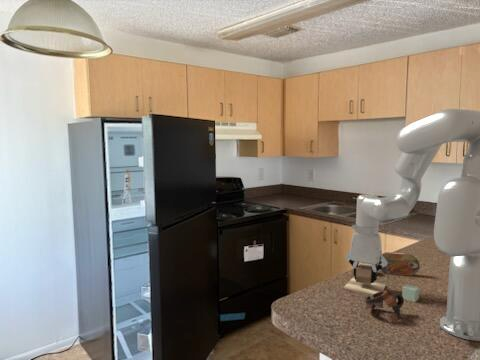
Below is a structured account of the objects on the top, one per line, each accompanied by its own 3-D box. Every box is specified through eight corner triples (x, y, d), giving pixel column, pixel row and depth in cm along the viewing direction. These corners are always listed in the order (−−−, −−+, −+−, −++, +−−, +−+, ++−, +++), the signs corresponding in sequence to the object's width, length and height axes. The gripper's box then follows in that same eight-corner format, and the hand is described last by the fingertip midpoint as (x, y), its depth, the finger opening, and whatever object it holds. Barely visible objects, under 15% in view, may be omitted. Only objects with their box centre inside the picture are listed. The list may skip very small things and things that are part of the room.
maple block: (373, 275, 143) (373, 265, 142) (362, 274, 144) (362, 264, 144) (372, 272, 147) (373, 262, 146) (362, 271, 148) (362, 261, 147)
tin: (377, 273, 146) (378, 252, 145) (377, 270, 149) (377, 250, 148) (419, 277, 141) (420, 255, 140) (417, 274, 144) (418, 253, 143)
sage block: (414, 302, 119) (415, 290, 118) (401, 298, 121) (402, 287, 121) (418, 298, 121) (419, 287, 121) (406, 295, 124) (406, 283, 124)
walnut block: (370, 284, 127) (370, 270, 126) (355, 281, 130) (356, 268, 129) (373, 280, 131) (374, 266, 130) (359, 277, 134) (360, 264, 133)
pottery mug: (388, 328, 103) (374, 300, 104) (368, 328, 111) (355, 302, 113) (417, 310, 107) (403, 283, 109) (396, 311, 116) (383, 286, 118)
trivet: (378, 297, 122) (378, 295, 122) (342, 289, 129) (342, 287, 129) (386, 285, 132) (386, 284, 132) (352, 279, 139) (352, 277, 139)
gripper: (339, 228, 130) (337, 278, 132) (390, 235, 121) (387, 289, 122) (346, 224, 136) (344, 272, 138) (395, 231, 127) (392, 282, 129)
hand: (364, 279), depth 130 cm, fingers closed on walnut block, 5 cm apart
